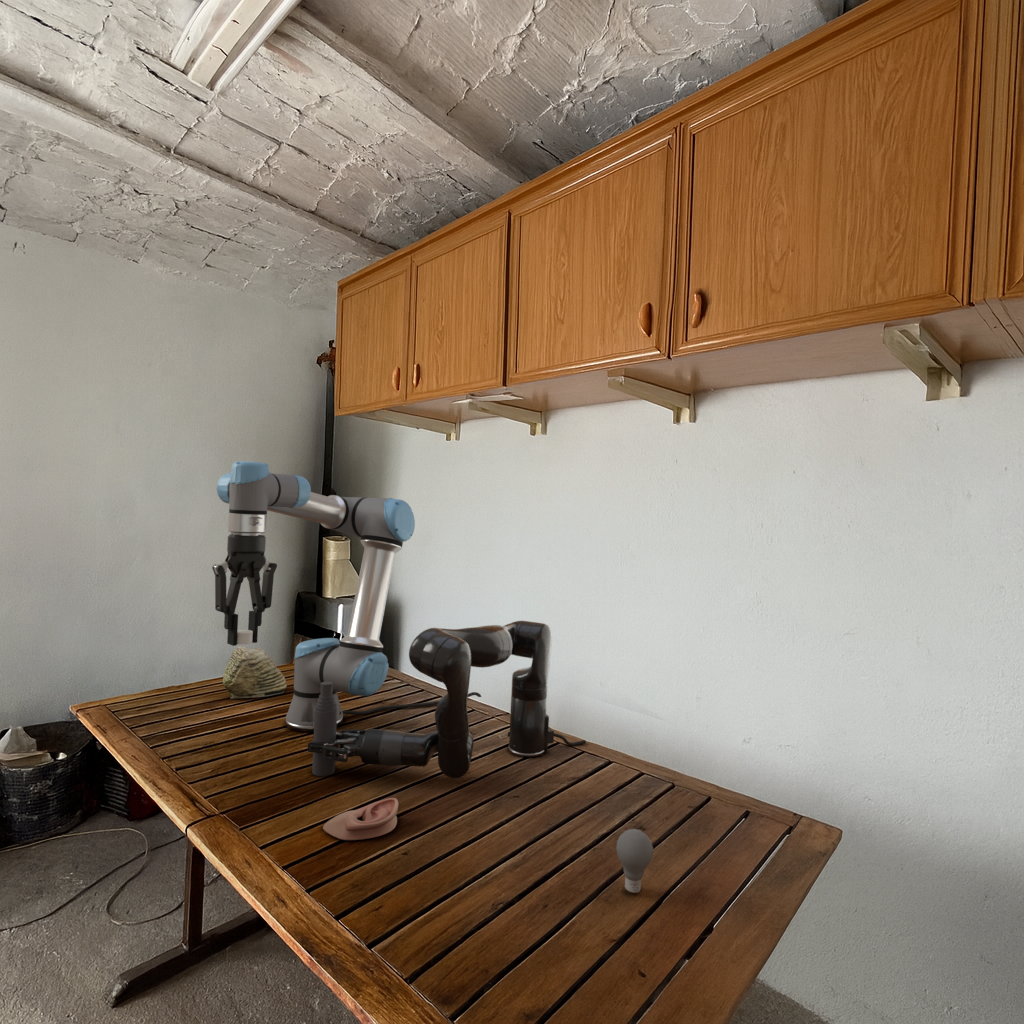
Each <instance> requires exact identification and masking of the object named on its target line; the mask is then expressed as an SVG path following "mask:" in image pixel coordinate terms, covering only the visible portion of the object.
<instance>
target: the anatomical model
mask: <svg viewBox="0 0 1024 1024" xmlns="http://www.w3.org/2000/svg"><path fill="white" fill-rule="evenodd" d="M398 809H399V801H398V799H397V798H396V797H389V798H388V797H387V798H383V799H381V800H378V801H375V802H372V803H369V804H367V805H365V806H363V807H360V808H357V809H353V810H352V809H351V810H348V811H344V812H341V813H340V814H337V815H336V816H333V818H330V819H329V820H328V821H327V822H325V823H324V824H323V826H322V830H323V831H324V832H325V833H326V834H329V835H330V836H332V837H334V838H337V839H339V840H342V841H358V840H359V841H360V840H366V839H373V838H377V837H380V836H383V835H386V834H388V833H390V832H392V831H393V830H394V829H395V828H396V826H397V824H398V817H397V813H398Z"/></svg>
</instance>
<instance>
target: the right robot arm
mask: <svg viewBox="0 0 1024 1024" xmlns="http://www.w3.org/2000/svg"><path fill="white" fill-rule="evenodd" d="M552 632H553V631H552V629H551V627H550V625H549V624H547V623H544V622H537V621H529V620H515V621H512V622H510V623H507V624H504V625H502V624H489V625H480V626H472V627H464V628H463V627H462V628H444V627H443V628H442V627H429V628H427V629H424V630H423V631H421V632H420V633H419V634H418V635H416V637H415V638H414V639H413V641H412V642H411V644H410V646H409V649H408V659H409V662H410V664H411V666H412V667H413V668H414V669H416V670H417V671H418V672H419V673H421V674H423V675H425V676H427V677H429V678H430V679H433V680H435V681H437V682H439V683H442V684H444V686H445V689H446V693H445V694H444V695H443V696H442V697H441V698H440V700H438V701H439V703H438V704H436V707H435V711H434V719H435V727H436V731H432V732H428V733H416V732H415V733H414V732H406V731H405V732H403V731H400V730H392V729H391V730H390V729H377V728H367V730H366V729H364V728H361V729H357V728H356V729H354V728H353V729H351V728H349V729H340V730H339V731H336V740H335V742H328V743H325V742H314V741H313V740H311V741H309V742H308V743H307V752H309V753H313V752H314V753H323V758H324V759H329V760H334V761H335V762H340V763H347V762H348V761H349V759H348V758H353V757H360V759H361V762H362V763H363V764H364V765H365V764H366V765H377V766H388V767H389V766H390V767H393V766H394V767H397V766H406V767H416V768H423V767H426V766H427V765H428V764H429V763H430V760H431V759H432V757H433V756H434V755H435V754H436V753H437V763H438V767H439V770H440V772H441V773H442V774H443V775H444V776H446V777H448V778H449V779H455V780H456V779H460V778H462V777H464V776H465V775H466V774H467V773H468V772H469V770H470V767H471V763H472V757H473V750H474V744H475V741H474V740H475V739H474V737H473V735H472V734H471V733H470V724H469V723H470V722H469V714H468V698H469V697H468V694H469V691H470V682H471V672H472V667H473V668H483V669H485V668H491V667H495V666H499V665H501V664H503V663H505V662H506V661H507V660H508V659H509V658H510V657H511V656H515V657H520V658H526V659H531V660H532V661H531V665H530V666H529V667H528V666H527V667H524V668H519V669H517V670H515V671H513V673H512V674H511V690H510V691H511V694H510V715H509V731H508V732H507V738H508V751H509V752H510V753H511V754H513V755H515V756H519V757H522V758H523V757H524V758H534V757H540V756H542V755H544V754H548V751H549V750H548V747H549V744H554V739H555V738H559V739H561V740H562V742H564V743H565V745H567V746H571V747H572V746H573V747H576V746H580V745H584V744H586V743H587V742H586V741H587V740H585V739H583V740H578V741H574V742H572V741H568V739H567V738H566V737H565V736H564V735H562V734H559V733H556V732H555V731H554V730H553V729H552V728H551V727H550V716H549V714H547V701H548V682H549V675H550V666H551V655H552V645H553V633H552ZM331 746H335V747H331Z"/></svg>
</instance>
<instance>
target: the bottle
mask: <svg viewBox="0 0 1024 1024" xmlns="http://www.w3.org/2000/svg"><path fill="white" fill-rule="evenodd" d="M332 692H333V682H330V681H325V682H322V683H321V695H319V698H318V701H317V704H316V706H315V712H314V732H313V740H312V741H314V742H325V743H328V742H335V740H336V732H337V727H336V725H337V704H336V701H335V698H334V695H333V694H332ZM331 747H335V746H331ZM311 769H312V770H311V772H312V774H313V775H314V776H317V777H328V776H331V775H332V774H334V773H335V771H336V761H334V760H329V759H324V758H323V753H314V752H312V768H311Z"/></svg>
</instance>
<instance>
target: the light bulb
mask: <svg viewBox="0 0 1024 1024" xmlns="http://www.w3.org/2000/svg"><path fill="white" fill-rule="evenodd" d="M615 849H616V854H617V857H618V859H619V861H620V863H621V865H622V867H623V873H624V874H623V875H624V876H625V878H624V888H625V890H627V891H628V892H630V893H634V894H635V893H639V892H640V891H641V889H642V887H641V886H642V879H643V877H644V875H645V871H646V868H647V867H648V866H649V864H650V863H651V861H652V859H653V855H654V847H653V843H652V841H651V838H649V836H648V835H647V834H646V833H645V832H643V831H642V830H641V829H636V828H629V829H627V830H625V831H623V832H622V833H621V834H620V835H619V837H618V839H617V841H616V847H615Z"/></svg>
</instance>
